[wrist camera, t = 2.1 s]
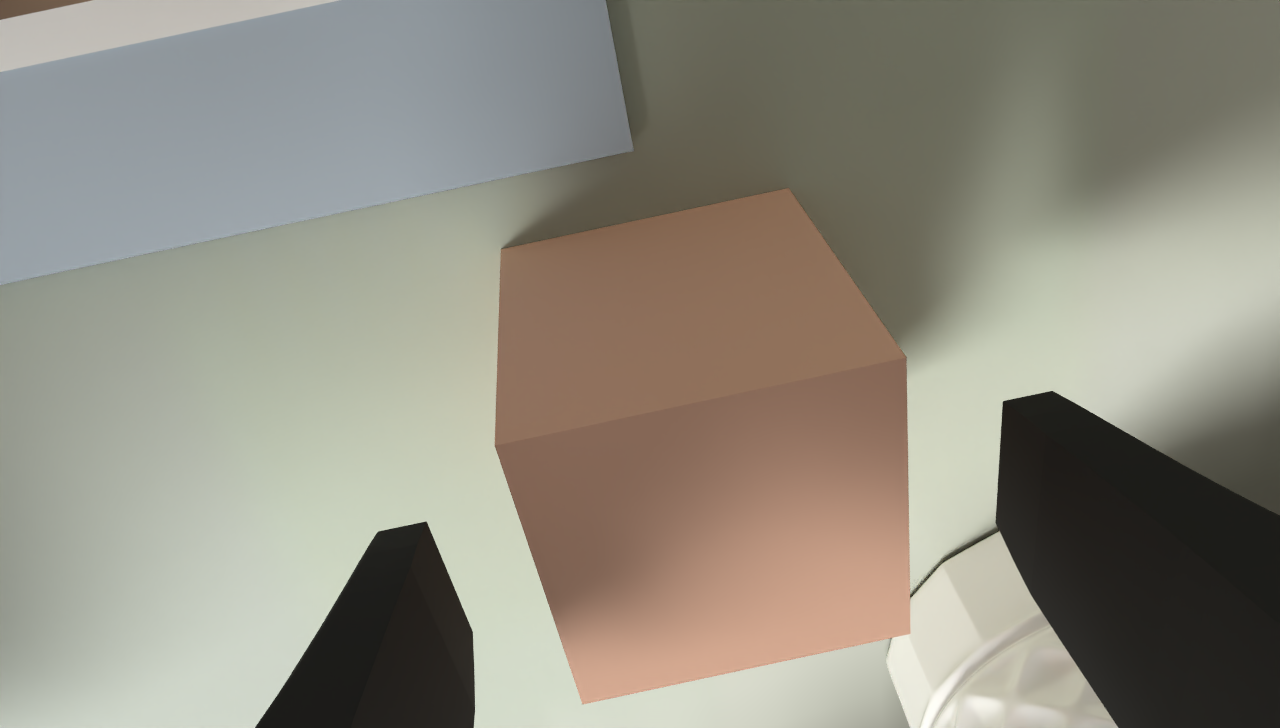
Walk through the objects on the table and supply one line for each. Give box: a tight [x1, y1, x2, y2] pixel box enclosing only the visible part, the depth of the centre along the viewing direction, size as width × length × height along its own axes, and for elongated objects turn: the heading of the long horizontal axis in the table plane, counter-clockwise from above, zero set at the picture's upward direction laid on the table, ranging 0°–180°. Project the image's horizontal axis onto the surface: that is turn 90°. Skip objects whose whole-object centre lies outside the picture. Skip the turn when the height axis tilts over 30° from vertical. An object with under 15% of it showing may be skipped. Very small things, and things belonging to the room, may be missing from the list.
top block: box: [495, 188, 911, 704], centre depth 13 cm, size 4×4×5 cm
